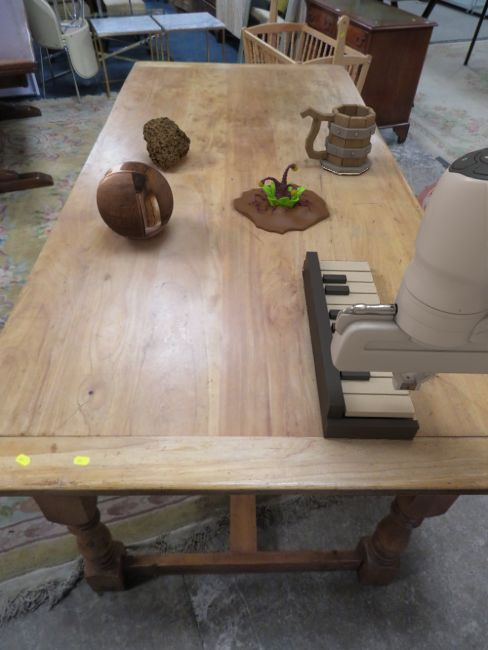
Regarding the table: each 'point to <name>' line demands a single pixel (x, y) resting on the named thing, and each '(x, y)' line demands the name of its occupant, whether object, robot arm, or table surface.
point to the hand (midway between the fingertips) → (404, 386)
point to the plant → (282, 206)
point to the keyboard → (322, 308)
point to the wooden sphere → (134, 200)
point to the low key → (344, 266)
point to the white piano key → (378, 406)
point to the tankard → (342, 137)
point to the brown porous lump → (165, 142)
